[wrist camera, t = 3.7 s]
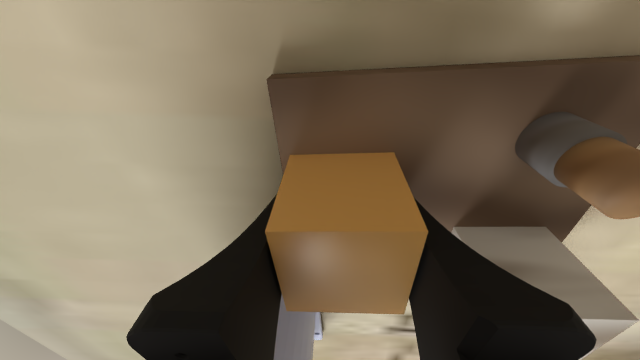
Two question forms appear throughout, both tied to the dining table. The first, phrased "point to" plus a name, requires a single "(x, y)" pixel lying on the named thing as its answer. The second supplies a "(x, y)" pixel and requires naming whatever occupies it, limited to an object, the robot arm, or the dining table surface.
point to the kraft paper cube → (345, 234)
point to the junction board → (492, 154)
